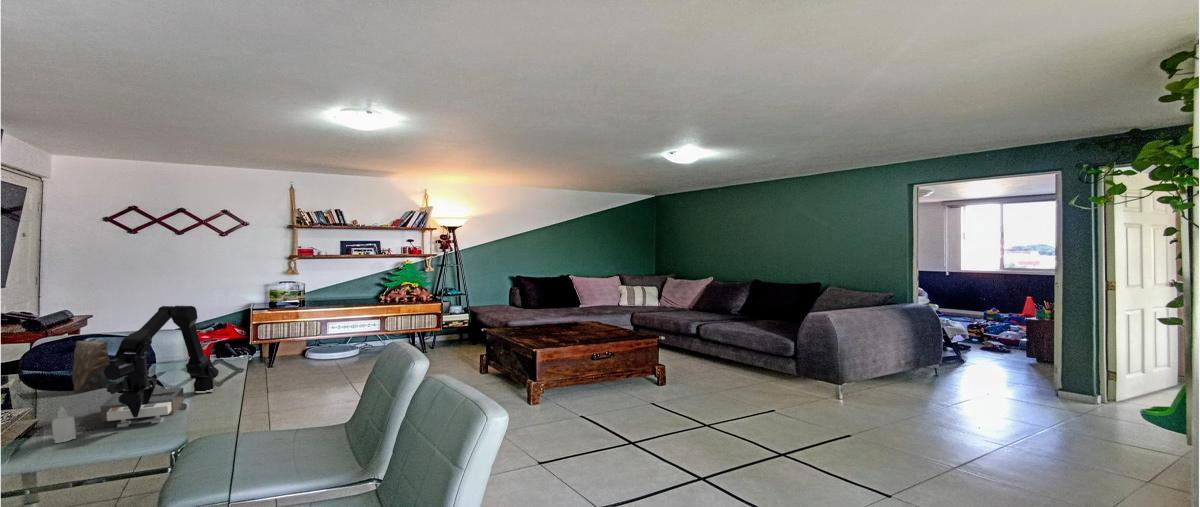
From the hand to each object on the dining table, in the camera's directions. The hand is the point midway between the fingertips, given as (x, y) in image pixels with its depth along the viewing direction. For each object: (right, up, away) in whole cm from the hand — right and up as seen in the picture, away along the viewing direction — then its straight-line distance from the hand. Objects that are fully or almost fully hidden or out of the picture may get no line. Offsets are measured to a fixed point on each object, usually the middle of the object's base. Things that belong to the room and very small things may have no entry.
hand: (140, 412), depth 213 cm
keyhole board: (-7, -3, +11) cm, 14 cm away
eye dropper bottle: (-14, -6, -15) cm, 21 cm away
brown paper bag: (-50, 0, +35) cm, 61 cm away
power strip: (0, -4, 0) cm, 4 cm away
